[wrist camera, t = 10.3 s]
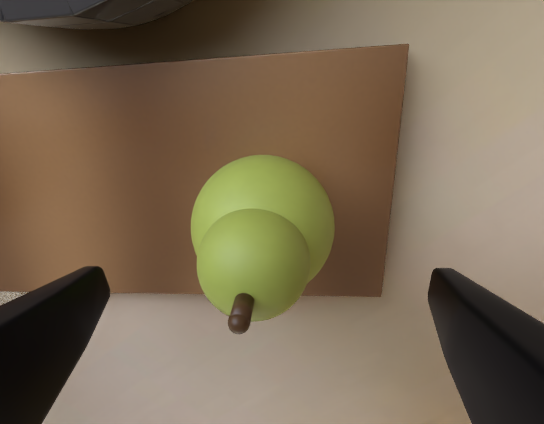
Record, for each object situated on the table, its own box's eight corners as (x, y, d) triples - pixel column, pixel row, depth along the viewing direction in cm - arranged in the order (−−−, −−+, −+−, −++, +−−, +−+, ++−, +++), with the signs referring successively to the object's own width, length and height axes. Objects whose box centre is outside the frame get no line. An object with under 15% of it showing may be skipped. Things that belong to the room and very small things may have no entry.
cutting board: (4, 275, 19) (-18, 291, 18) (-101, 81, 15) (-141, 84, 13) (375, 277, 17) (381, 297, 16) (398, 44, 12) (409, 43, 11)
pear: (222, 245, 15) (155, 397, 8) (205, 140, 13) (97, 234, 6) (328, 244, 15) (347, 407, 8) (330, 135, 12) (358, 232, 6)
